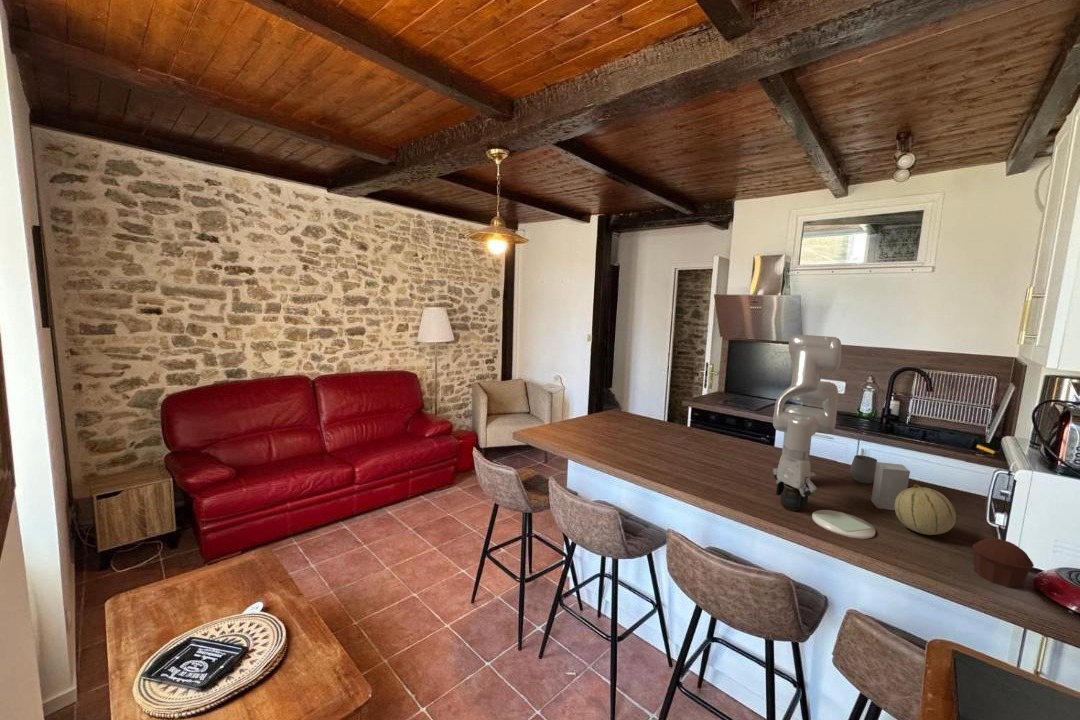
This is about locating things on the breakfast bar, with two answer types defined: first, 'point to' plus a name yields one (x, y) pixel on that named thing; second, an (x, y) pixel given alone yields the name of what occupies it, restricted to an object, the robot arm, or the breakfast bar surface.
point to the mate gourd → (790, 498)
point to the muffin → (1001, 562)
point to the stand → (843, 524)
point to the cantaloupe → (925, 510)
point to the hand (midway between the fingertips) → (791, 500)
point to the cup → (863, 469)
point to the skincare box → (888, 484)
